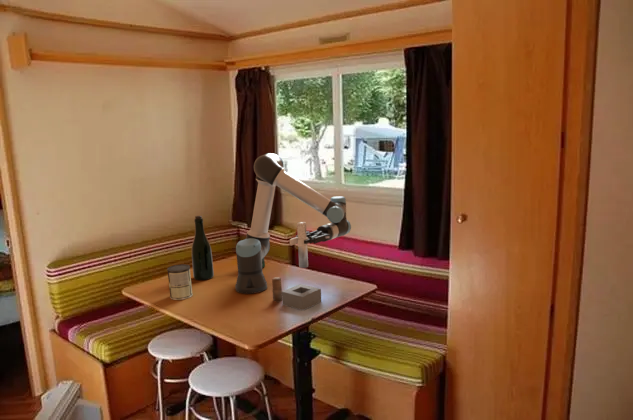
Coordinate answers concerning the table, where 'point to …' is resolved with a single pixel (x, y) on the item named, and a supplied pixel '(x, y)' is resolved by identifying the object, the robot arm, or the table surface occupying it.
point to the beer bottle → (201, 253)
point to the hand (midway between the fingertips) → (294, 242)
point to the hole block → (301, 296)
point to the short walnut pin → (277, 289)
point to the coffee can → (179, 282)
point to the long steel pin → (303, 249)
